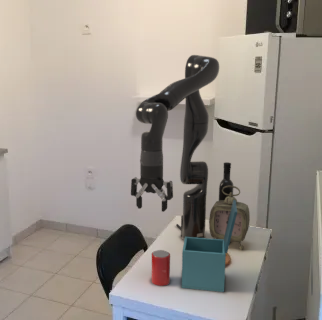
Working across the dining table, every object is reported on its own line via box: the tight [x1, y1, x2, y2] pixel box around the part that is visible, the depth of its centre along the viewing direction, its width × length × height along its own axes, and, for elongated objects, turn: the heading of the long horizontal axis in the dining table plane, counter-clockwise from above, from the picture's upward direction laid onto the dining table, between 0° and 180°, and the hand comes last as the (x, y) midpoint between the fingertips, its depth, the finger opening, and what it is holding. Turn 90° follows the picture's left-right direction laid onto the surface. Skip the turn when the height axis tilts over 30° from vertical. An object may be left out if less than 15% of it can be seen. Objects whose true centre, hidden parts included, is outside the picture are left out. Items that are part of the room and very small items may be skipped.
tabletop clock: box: [208, 185, 251, 250], centre depth 174 cm, size 14×9×25 cm, turn 65°
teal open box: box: [181, 237, 227, 293], centre depth 148 cm, size 14×12×13 cm
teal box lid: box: [224, 199, 237, 254], centre depth 143 cm, size 14×12×1 cm
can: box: [151, 249, 171, 287], centre depth 149 cm, size 6×6×10 cm
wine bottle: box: [218, 161, 234, 201], centre depth 189 cm, size 6×6×30 cm
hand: (151, 209), depth 149 cm, fingers open, 8 cm apart
